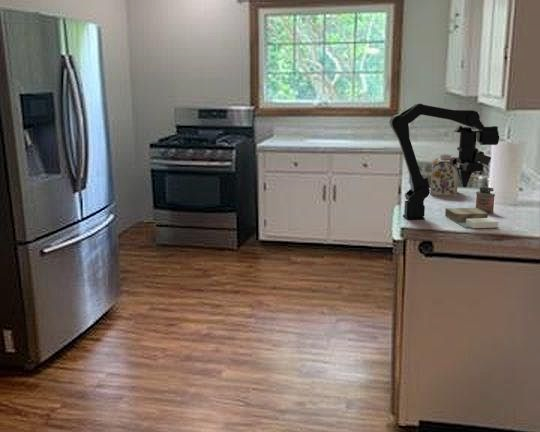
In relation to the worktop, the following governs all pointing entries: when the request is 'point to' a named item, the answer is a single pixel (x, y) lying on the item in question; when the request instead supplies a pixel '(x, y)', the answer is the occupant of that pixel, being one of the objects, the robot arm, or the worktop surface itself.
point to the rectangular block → (482, 223)
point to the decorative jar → (443, 177)
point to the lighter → (485, 199)
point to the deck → (464, 213)
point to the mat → (463, 224)
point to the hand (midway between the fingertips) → (464, 187)
